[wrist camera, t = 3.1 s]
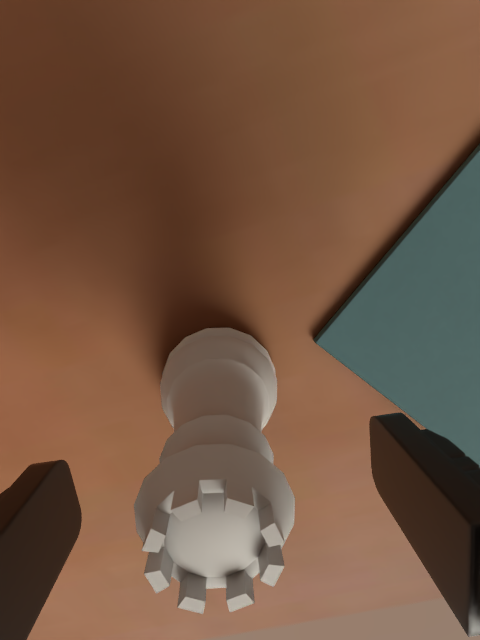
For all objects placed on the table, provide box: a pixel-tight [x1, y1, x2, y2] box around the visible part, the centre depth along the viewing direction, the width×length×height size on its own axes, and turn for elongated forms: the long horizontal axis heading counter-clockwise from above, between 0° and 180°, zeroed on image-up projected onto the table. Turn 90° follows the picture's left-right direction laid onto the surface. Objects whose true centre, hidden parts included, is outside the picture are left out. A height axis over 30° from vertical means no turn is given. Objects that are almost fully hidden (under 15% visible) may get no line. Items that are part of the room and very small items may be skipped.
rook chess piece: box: [134, 328, 295, 614], centre depth 10 cm, size 4×4×8 cm
